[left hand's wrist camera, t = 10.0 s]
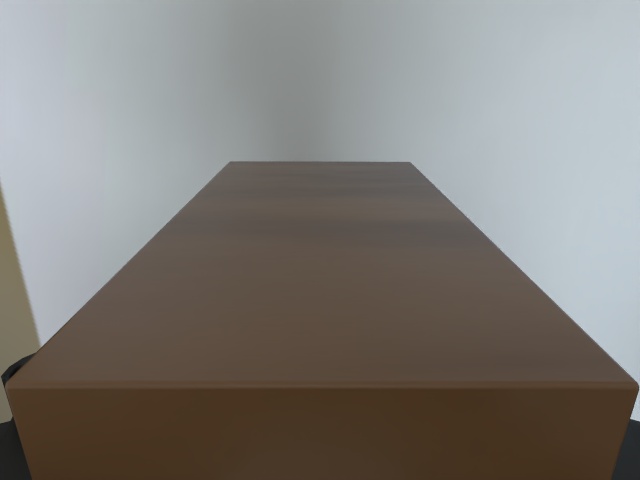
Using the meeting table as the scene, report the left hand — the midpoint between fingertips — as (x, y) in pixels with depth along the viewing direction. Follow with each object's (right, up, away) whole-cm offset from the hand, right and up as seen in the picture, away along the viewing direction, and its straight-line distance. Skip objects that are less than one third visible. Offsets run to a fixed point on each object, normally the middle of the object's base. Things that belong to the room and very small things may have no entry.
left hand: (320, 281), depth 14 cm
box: (0, -7, +4) cm, 8 cm away
